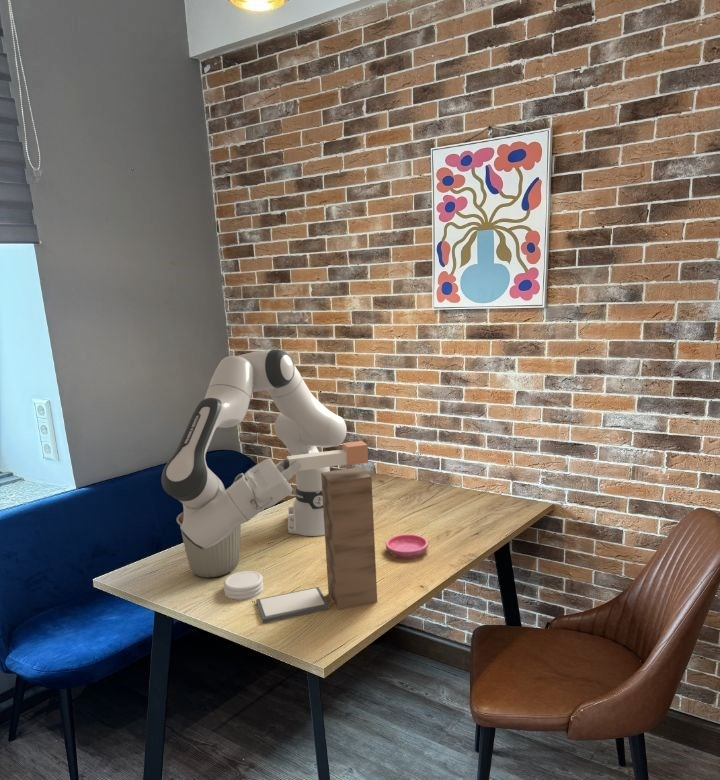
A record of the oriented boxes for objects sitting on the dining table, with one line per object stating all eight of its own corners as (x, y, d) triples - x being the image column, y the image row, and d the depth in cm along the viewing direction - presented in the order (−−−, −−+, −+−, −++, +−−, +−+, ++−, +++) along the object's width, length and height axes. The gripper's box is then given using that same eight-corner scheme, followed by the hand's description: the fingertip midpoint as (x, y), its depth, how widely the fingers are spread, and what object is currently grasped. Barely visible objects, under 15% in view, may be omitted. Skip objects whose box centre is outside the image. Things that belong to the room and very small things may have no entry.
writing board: (256, 603, 148) (256, 598, 148) (318, 590, 153) (318, 586, 153) (263, 623, 139) (262, 618, 139) (328, 608, 144) (328, 604, 143)
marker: (281, 468, 141) (280, 450, 140) (362, 458, 147) (361, 440, 146) (285, 473, 136) (284, 454, 136) (368, 462, 143) (367, 444, 142)
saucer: (406, 565, 165) (406, 555, 164) (377, 552, 174) (376, 542, 174) (437, 552, 173) (437, 542, 172) (407, 540, 182) (407, 530, 182)
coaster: (218, 590, 156) (217, 578, 156) (252, 578, 162) (251, 566, 161) (235, 605, 148) (233, 592, 148) (270, 591, 154) (269, 579, 154)
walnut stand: (328, 593, 151) (321, 472, 146) (365, 585, 154) (359, 466, 149) (338, 610, 143) (330, 482, 138) (377, 601, 146) (371, 476, 141)
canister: (259, 568, 168) (254, 496, 164) (201, 591, 156) (194, 515, 152) (227, 550, 181) (221, 483, 178) (171, 570, 169) (163, 499, 166)
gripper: (246, 500, 126) (299, 461, 129) (235, 474, 145) (281, 441, 148) (263, 522, 128) (315, 483, 130) (249, 494, 147) (295, 460, 150)
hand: (297, 460), depth 139 cm, fingers closed on marker, 3 cm apart
